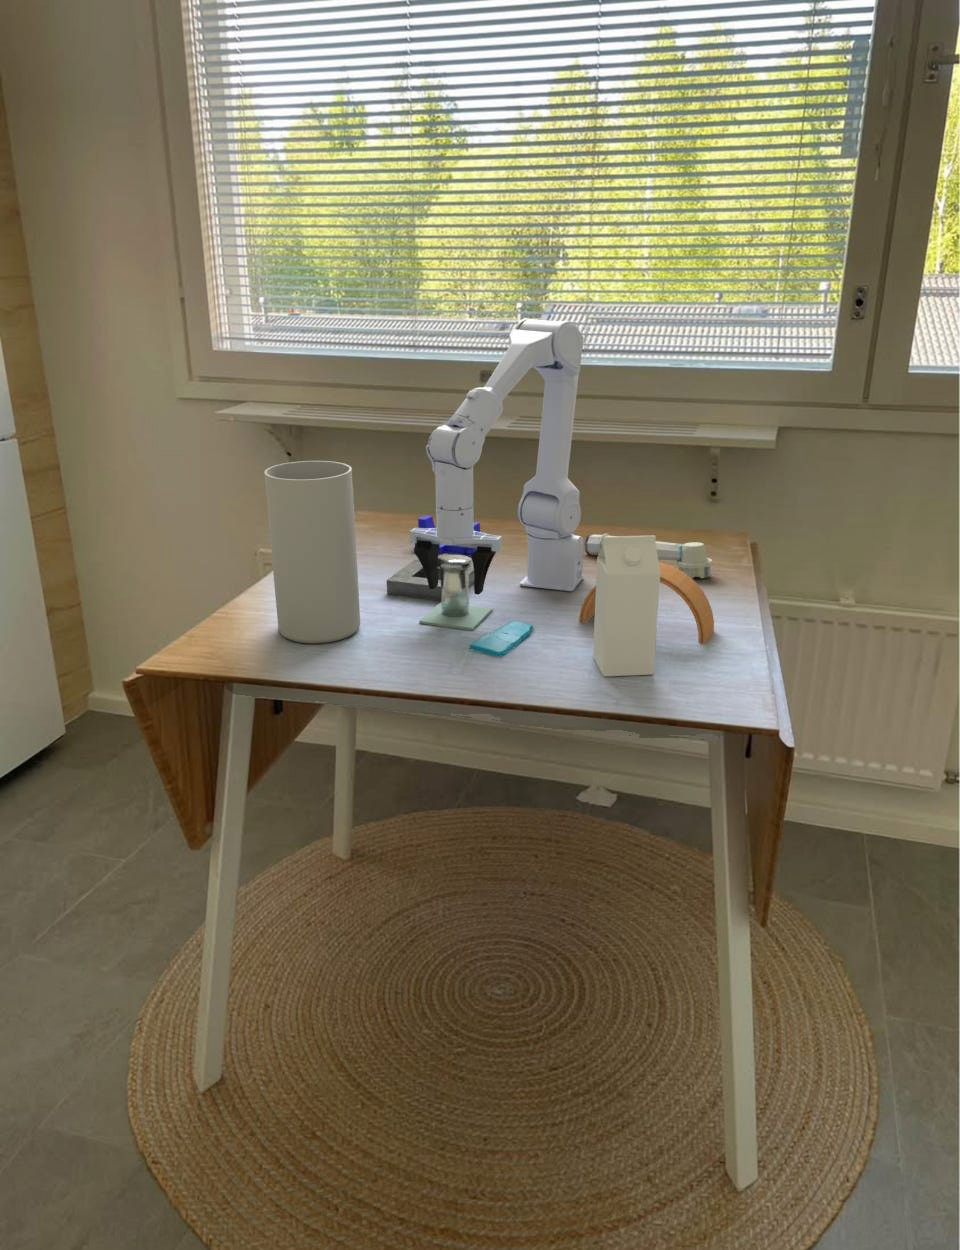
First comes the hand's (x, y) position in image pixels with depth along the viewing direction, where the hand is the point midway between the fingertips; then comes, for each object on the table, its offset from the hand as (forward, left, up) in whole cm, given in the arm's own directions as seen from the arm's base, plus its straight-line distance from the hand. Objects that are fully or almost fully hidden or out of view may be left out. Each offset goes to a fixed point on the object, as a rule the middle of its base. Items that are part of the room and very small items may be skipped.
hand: (456, 589), depth 152 cm
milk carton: (-29, +10, -5) cm, 31 cm away
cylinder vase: (+18, +12, -5) cm, 22 cm away
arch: (-29, -6, -5) cm, 30 cm away
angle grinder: (-24, -36, -5) cm, 43 cm away
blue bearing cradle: (+14, -32, -5) cm, 36 cm away
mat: (0, 0, -5) cm, 5 cm away
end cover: (0, -1, -4) cm, 4 cm away
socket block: (+9, -12, -5) cm, 16 cm away
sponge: (-11, +6, -5) cm, 13 cm away
